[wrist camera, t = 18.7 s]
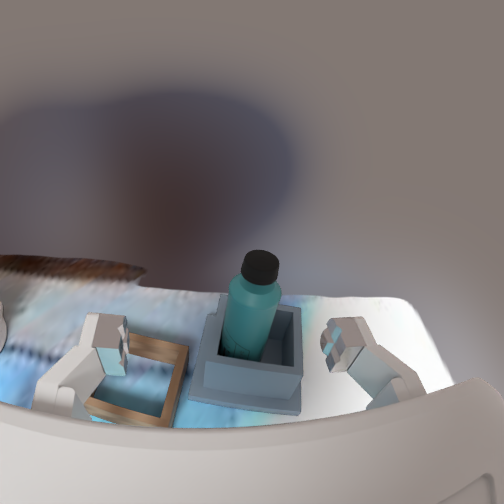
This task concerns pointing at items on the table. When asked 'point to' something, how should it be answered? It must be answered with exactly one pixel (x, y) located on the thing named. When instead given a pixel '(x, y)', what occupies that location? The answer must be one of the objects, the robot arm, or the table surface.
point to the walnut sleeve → (180, 359)
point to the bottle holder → (252, 367)
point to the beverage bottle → (251, 307)
